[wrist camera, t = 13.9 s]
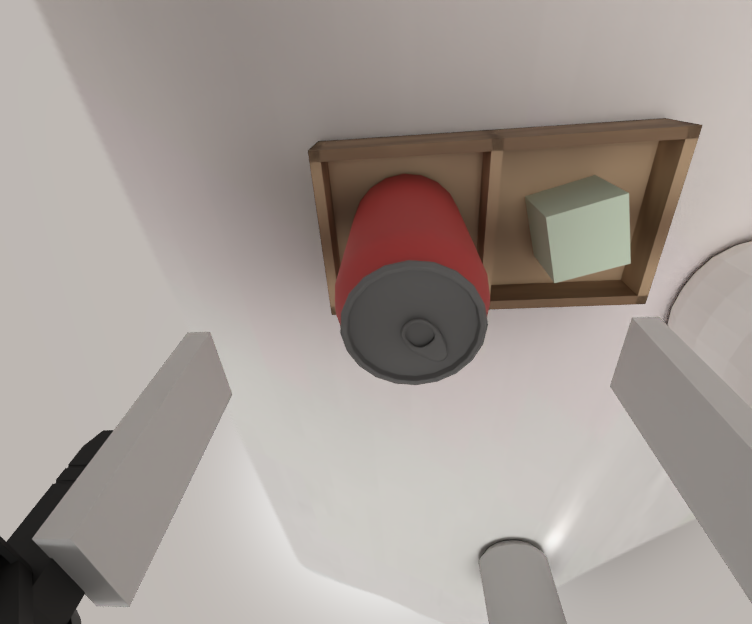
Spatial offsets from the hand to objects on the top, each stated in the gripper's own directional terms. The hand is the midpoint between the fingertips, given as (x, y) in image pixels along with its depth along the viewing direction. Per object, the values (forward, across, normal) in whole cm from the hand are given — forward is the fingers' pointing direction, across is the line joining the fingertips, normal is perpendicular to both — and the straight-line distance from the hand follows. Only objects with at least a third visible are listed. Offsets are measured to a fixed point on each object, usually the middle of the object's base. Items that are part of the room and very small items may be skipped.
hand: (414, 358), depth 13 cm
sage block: (+14, +10, -1) cm, 17 cm away
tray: (+15, +5, -1) cm, 16 cm away
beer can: (+14, 0, -1) cm, 14 cm away
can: (+15, +11, -41) cm, 45 cm away
